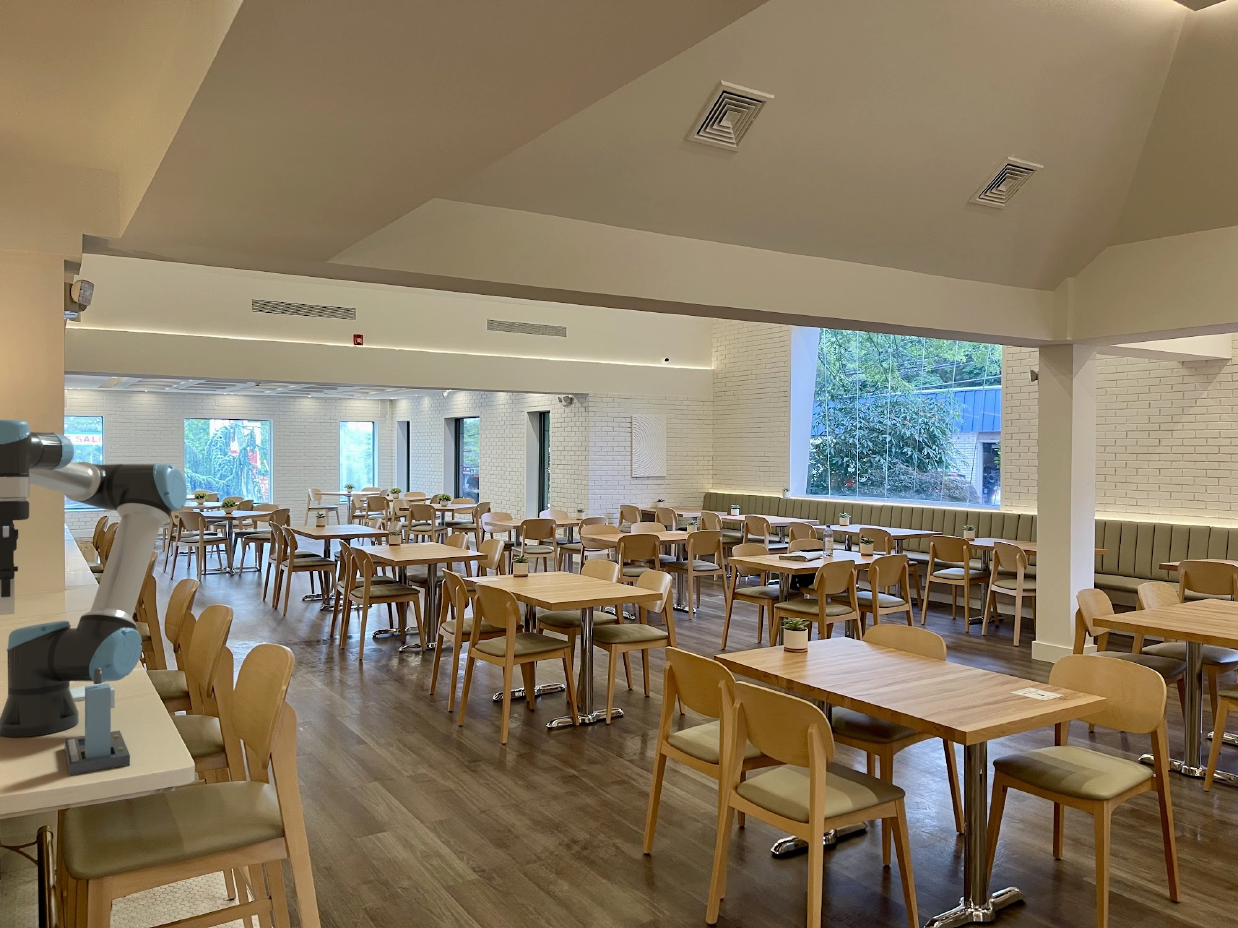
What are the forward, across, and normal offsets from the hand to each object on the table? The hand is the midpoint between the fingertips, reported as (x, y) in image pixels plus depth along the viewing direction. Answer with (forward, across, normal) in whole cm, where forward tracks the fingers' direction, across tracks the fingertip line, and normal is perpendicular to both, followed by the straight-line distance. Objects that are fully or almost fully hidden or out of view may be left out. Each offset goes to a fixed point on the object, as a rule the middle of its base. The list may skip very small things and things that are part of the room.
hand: (5, 609), depth 171 cm
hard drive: (+31, -59, +17) cm, 69 cm away
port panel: (+31, +1, +15) cm, 34 cm away
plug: (+31, +6, +15) cm, 35 cm away
